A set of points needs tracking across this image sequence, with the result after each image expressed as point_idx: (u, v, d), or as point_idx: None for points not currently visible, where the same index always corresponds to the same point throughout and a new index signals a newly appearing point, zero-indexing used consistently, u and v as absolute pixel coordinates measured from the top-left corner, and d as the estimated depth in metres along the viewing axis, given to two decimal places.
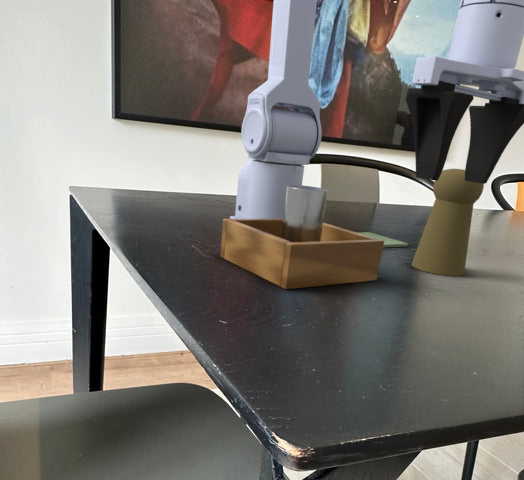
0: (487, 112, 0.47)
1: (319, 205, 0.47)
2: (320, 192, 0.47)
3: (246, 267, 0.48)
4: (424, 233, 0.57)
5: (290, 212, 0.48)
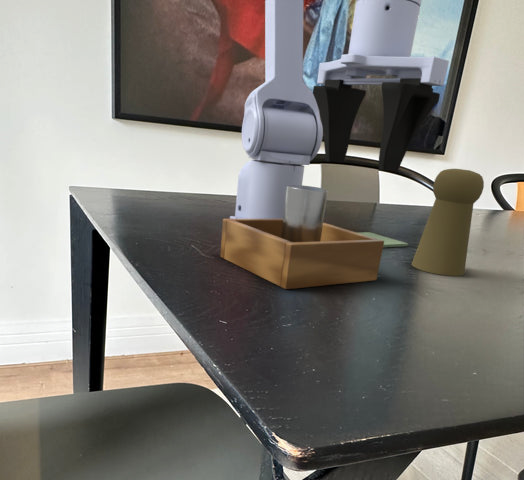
0: None
1: (319, 205, 0.47)
2: (320, 192, 0.47)
3: (246, 267, 0.48)
4: (424, 233, 0.57)
5: (290, 212, 0.48)
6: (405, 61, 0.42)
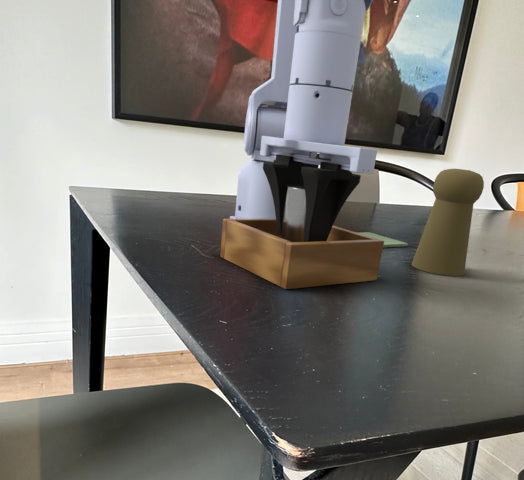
0: None
1: None
2: None
3: (246, 267, 0.48)
4: (424, 233, 0.57)
5: (290, 212, 0.48)
6: (334, 149, 0.42)
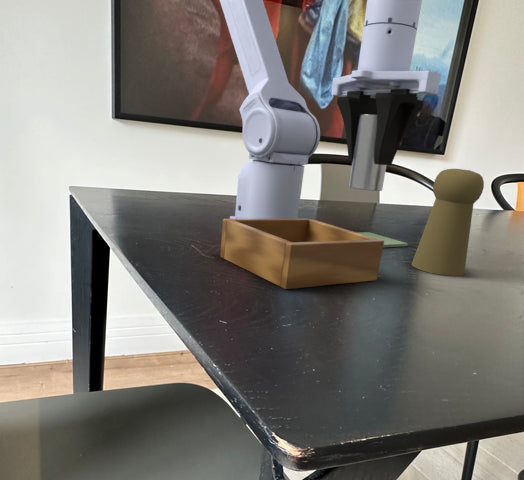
0: None
1: None
2: None
3: (246, 267, 0.48)
4: (424, 233, 0.57)
5: (363, 136, 0.57)
6: (405, 75, 0.51)
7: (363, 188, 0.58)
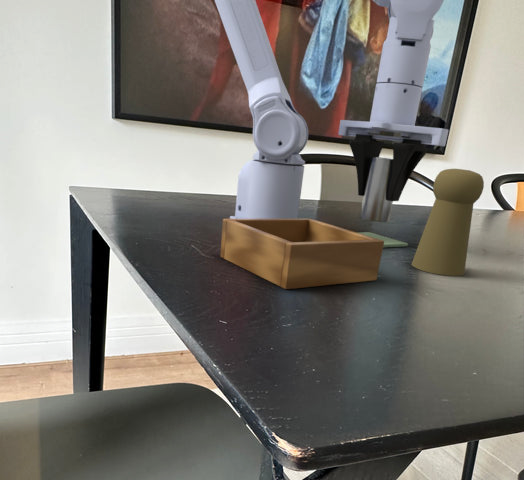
0: None
1: None
2: None
3: (246, 267, 0.48)
4: (424, 233, 0.57)
5: (377, 176, 0.65)
6: (420, 129, 0.60)
7: (376, 220, 0.67)
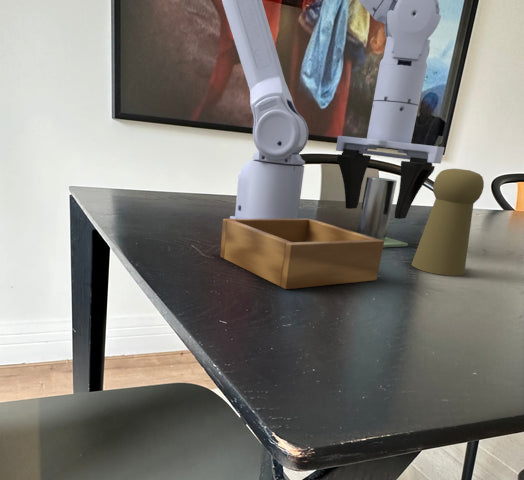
0: None
1: (393, 191, 0.66)
2: (395, 182, 0.66)
3: (246, 267, 0.48)
4: (424, 233, 0.57)
5: (373, 196, 0.66)
6: (416, 147, 0.61)
7: None
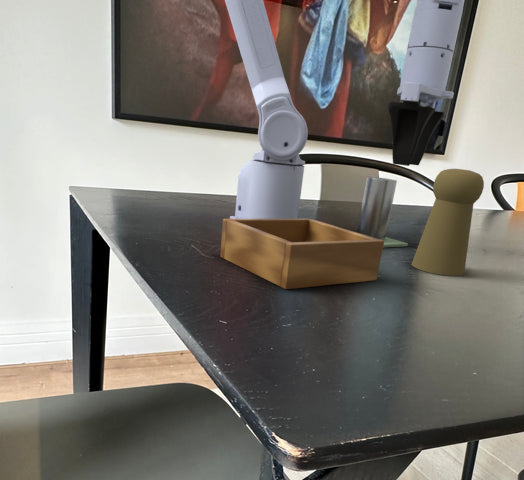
0: None
1: (393, 191, 0.66)
2: (395, 182, 0.66)
3: (246, 267, 0.48)
4: (424, 233, 0.57)
5: (373, 196, 0.66)
6: None
7: None
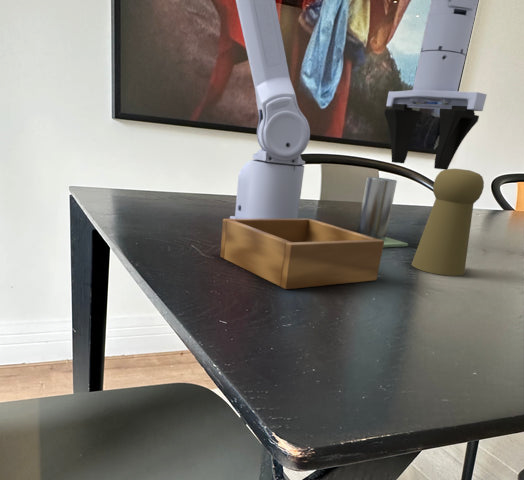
0: (405, 115, 0.70)
1: (393, 191, 0.66)
2: (395, 182, 0.66)
3: (246, 267, 0.48)
4: (424, 233, 0.57)
5: (373, 196, 0.66)
6: None
7: None
